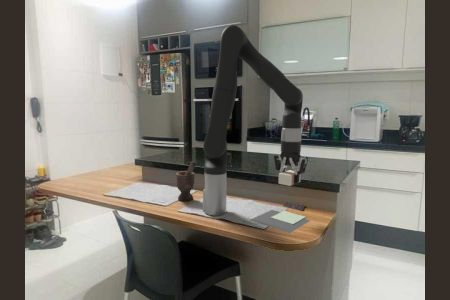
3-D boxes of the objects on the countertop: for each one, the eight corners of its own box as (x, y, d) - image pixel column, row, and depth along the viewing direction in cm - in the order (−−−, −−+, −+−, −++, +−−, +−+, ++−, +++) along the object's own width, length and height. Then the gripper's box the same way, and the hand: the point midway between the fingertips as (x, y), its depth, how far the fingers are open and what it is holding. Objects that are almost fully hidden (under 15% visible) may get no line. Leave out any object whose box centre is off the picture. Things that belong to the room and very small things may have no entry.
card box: (289, 179, 123) (289, 170, 122) (300, 182, 119) (300, 172, 119) (278, 183, 117) (278, 173, 116) (289, 186, 113) (290, 175, 113)
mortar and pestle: (203, 198, 146) (203, 158, 143) (194, 204, 138) (194, 161, 135) (182, 195, 150) (182, 156, 148) (173, 200, 143) (172, 159, 140)
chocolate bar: (305, 204, 136) (298, 218, 120) (305, 206, 136) (298, 220, 120) (285, 202, 140) (276, 214, 124) (285, 204, 140) (276, 217, 124)
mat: (249, 221, 118) (249, 219, 118) (273, 210, 131) (274, 208, 131) (289, 234, 106) (289, 232, 106) (312, 220, 119) (312, 218, 119)
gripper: (312, 140, 113) (310, 184, 116) (280, 137, 123) (279, 178, 126) (303, 142, 108) (301, 188, 110) (269, 139, 118) (268, 181, 120)
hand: (289, 182), depth 118 cm, fingers closed on card box, 5 cm apart
